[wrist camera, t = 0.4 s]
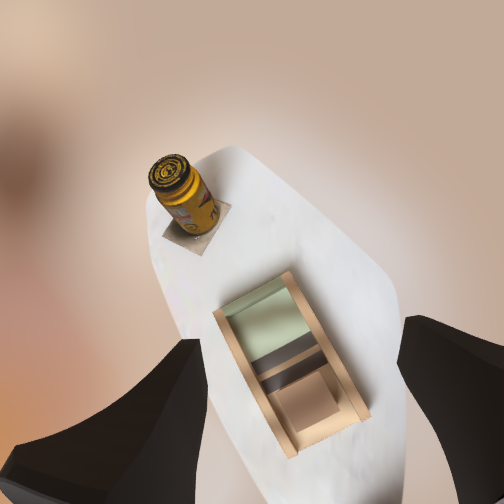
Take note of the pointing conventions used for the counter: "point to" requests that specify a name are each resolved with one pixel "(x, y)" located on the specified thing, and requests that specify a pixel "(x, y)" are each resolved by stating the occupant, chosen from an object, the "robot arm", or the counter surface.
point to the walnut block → (307, 401)
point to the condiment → (186, 203)
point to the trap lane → (287, 358)
